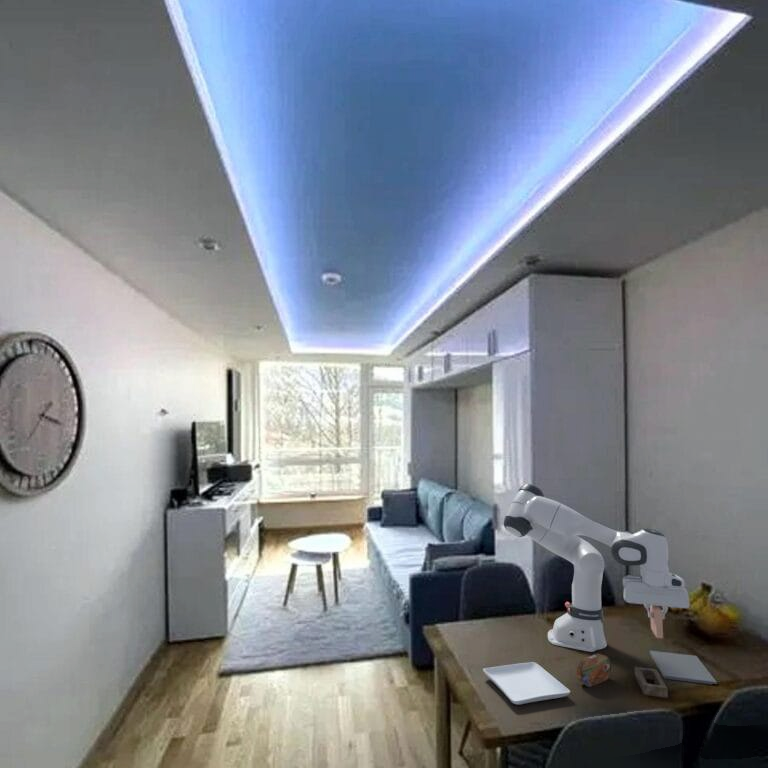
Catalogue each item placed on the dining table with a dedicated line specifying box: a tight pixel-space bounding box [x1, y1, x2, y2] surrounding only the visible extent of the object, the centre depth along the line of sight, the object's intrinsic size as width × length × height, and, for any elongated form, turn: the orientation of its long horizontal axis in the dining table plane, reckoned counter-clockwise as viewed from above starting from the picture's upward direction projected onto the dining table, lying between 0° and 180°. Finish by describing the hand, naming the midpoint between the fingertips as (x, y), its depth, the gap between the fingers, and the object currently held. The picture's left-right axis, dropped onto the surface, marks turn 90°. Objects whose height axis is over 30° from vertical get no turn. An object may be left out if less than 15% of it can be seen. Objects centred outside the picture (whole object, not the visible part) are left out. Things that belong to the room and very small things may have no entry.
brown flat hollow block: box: [634, 666, 669, 699], centre depth 169 cm, size 7×13×3 cm, turn 165°
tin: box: [576, 653, 612, 688], centre depth 172 cm, size 15×3×8 cm, turn 119°
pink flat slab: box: [649, 605, 664, 639], centre depth 173 cm, size 2×8×9 cm, turn 164°
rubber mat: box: [649, 650, 718, 686], centre depth 181 cm, size 16×20×1 cm
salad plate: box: [482, 661, 571, 706], centre depth 167 cm, size 21×21×3 cm
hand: (656, 618), depth 174 cm, fingers closed on pink flat slab, 2 cm apart
